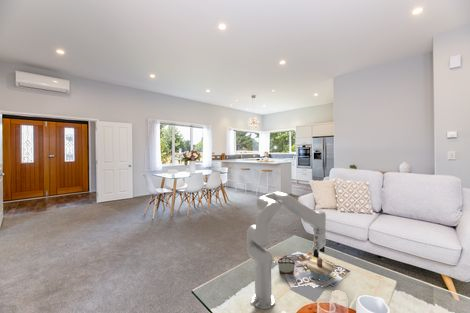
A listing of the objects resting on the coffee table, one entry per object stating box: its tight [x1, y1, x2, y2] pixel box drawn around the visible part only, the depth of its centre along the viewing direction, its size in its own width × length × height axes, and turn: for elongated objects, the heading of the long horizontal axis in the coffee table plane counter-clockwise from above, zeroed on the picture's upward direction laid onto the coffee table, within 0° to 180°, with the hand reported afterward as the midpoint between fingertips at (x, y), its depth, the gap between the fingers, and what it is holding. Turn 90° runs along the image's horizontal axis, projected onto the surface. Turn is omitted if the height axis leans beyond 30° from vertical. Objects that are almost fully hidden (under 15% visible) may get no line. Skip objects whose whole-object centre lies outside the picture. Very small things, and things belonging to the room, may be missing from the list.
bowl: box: [309, 270, 331, 281], centre depth 144 cm, size 12×12×6 cm
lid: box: [306, 257, 334, 275], centre depth 144 cm, size 16×16×6 cm
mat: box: [289, 285, 327, 303], centre depth 131 cm, size 16×16×1 cm
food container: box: [277, 256, 296, 275], centre depth 149 cm, size 12×6×10 cm, turn 84°
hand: (319, 254), depth 143 cm, fingers open, 9 cm apart
